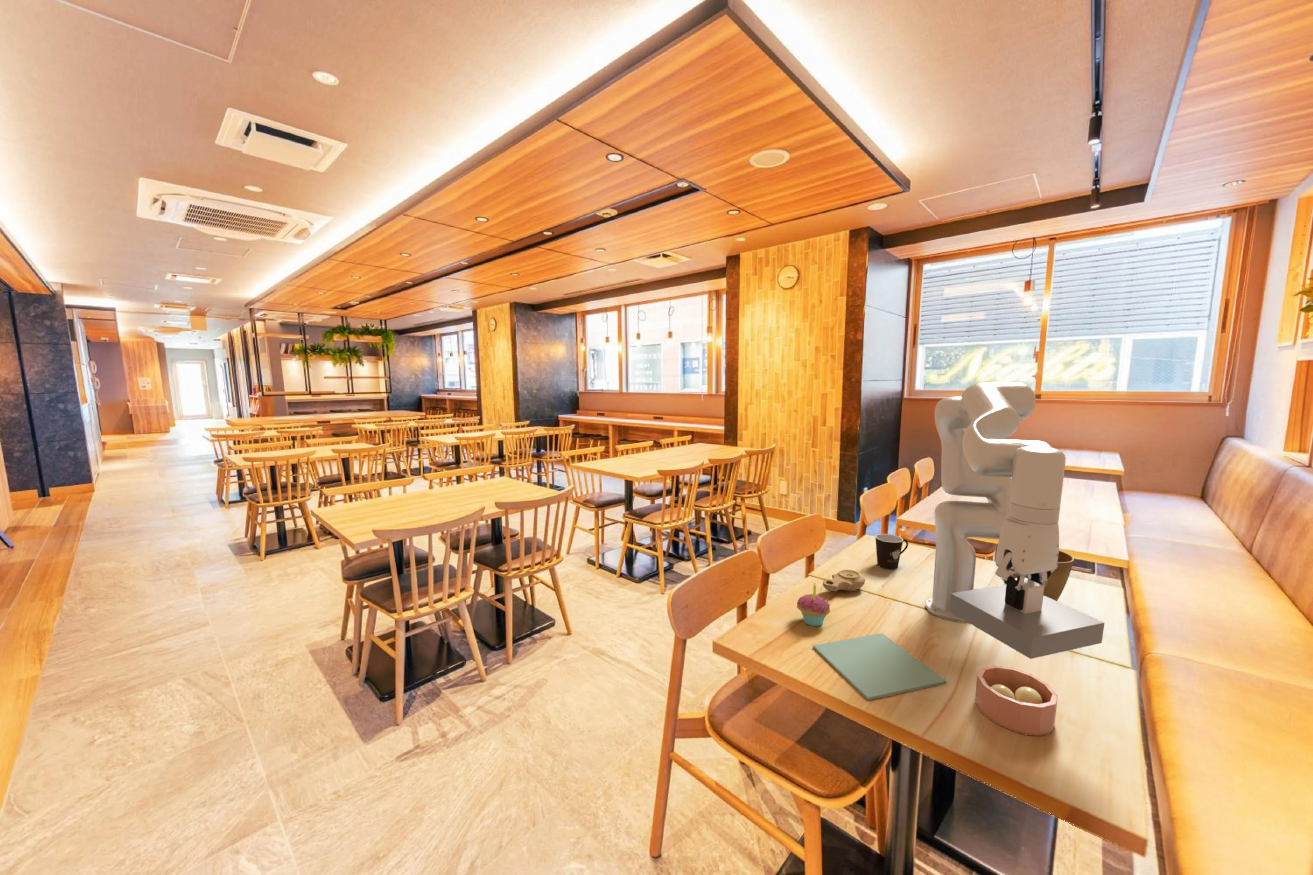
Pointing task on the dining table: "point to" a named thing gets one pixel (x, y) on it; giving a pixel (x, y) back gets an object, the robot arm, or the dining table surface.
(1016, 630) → the cover
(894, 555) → the coffee mug
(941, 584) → the robot arm
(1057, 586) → the plant pot
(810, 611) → the cupcake
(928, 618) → the dining table surface
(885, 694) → the mat
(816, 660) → the dining table surface
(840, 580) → the oil lamp
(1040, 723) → the bowl
